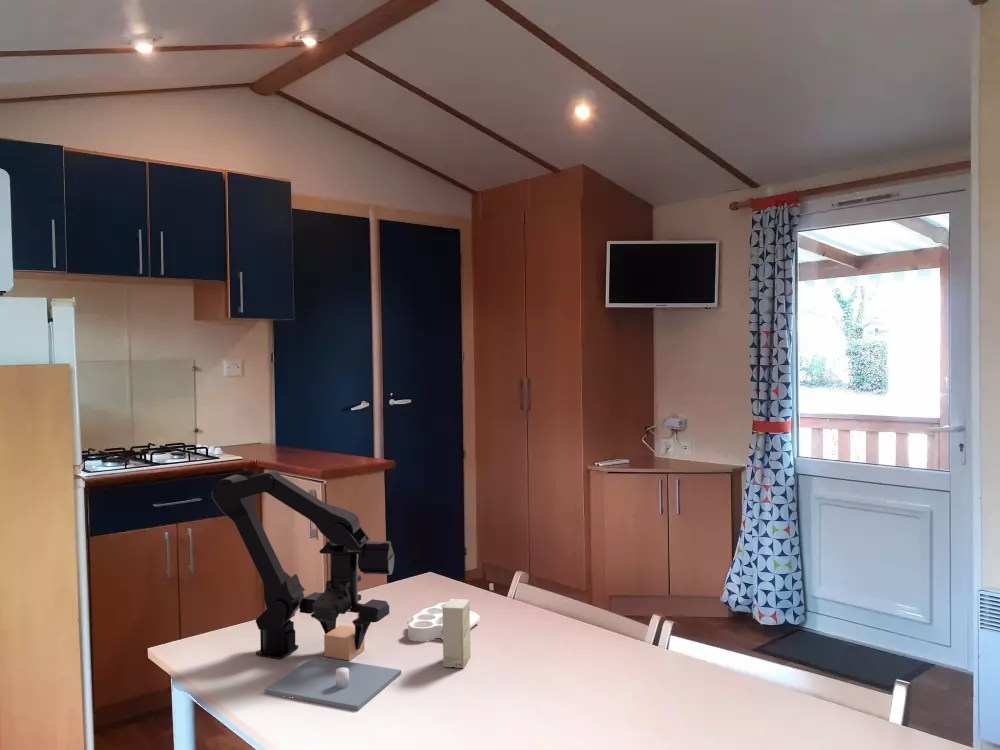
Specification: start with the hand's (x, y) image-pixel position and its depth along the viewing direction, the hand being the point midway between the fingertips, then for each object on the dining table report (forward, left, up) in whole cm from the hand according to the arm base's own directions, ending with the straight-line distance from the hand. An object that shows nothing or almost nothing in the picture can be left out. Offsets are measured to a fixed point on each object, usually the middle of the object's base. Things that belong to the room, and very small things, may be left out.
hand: (344, 647), depth 156 cm
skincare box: (+24, +4, -2) cm, 24 cm away
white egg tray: (+13, +20, -2) cm, 24 cm away
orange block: (0, 0, -1) cm, 1 cm away
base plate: (+6, -13, -1) cm, 14 cm away
